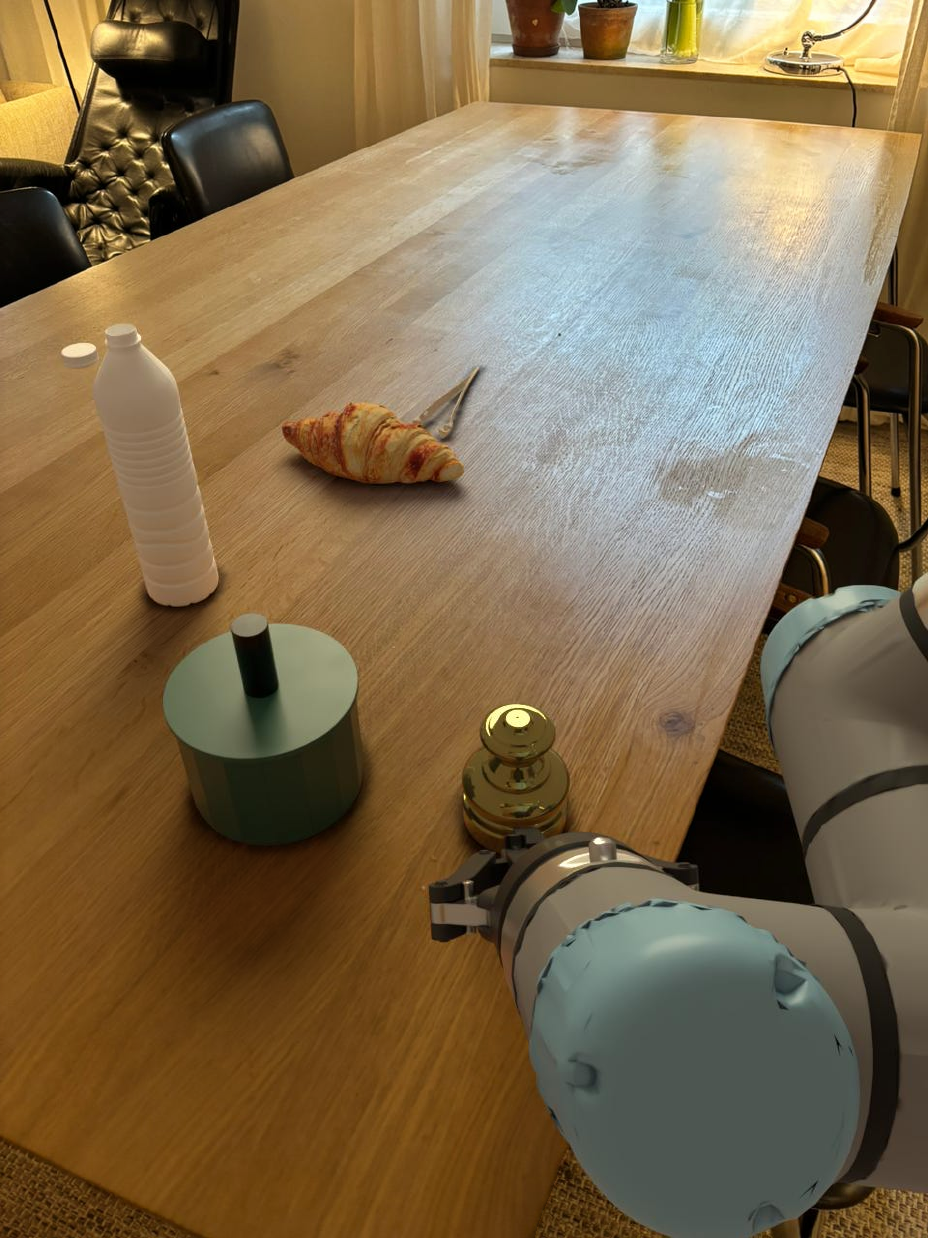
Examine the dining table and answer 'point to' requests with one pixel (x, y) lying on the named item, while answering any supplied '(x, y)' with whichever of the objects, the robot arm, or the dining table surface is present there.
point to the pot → (280, 789)
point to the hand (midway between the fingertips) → (525, 850)
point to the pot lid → (260, 692)
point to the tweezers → (443, 400)
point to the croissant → (372, 446)
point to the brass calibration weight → (514, 777)
